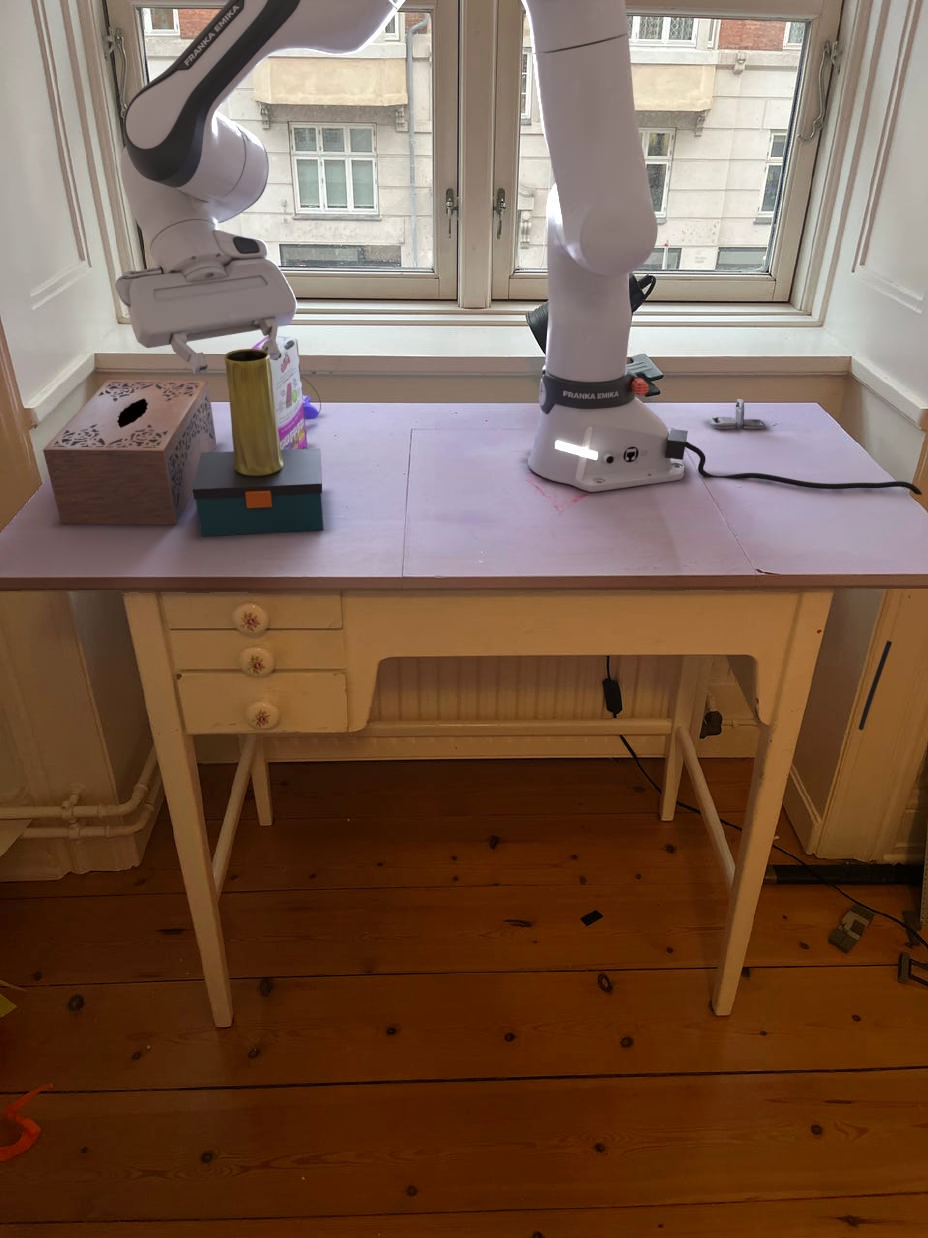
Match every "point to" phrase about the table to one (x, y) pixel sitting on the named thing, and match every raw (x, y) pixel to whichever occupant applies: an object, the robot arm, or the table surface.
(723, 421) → the grey t-shaped piece
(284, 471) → the lunchbox
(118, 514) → the tissue box cover
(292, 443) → the candy bar box
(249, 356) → the vase
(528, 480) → the table surface
